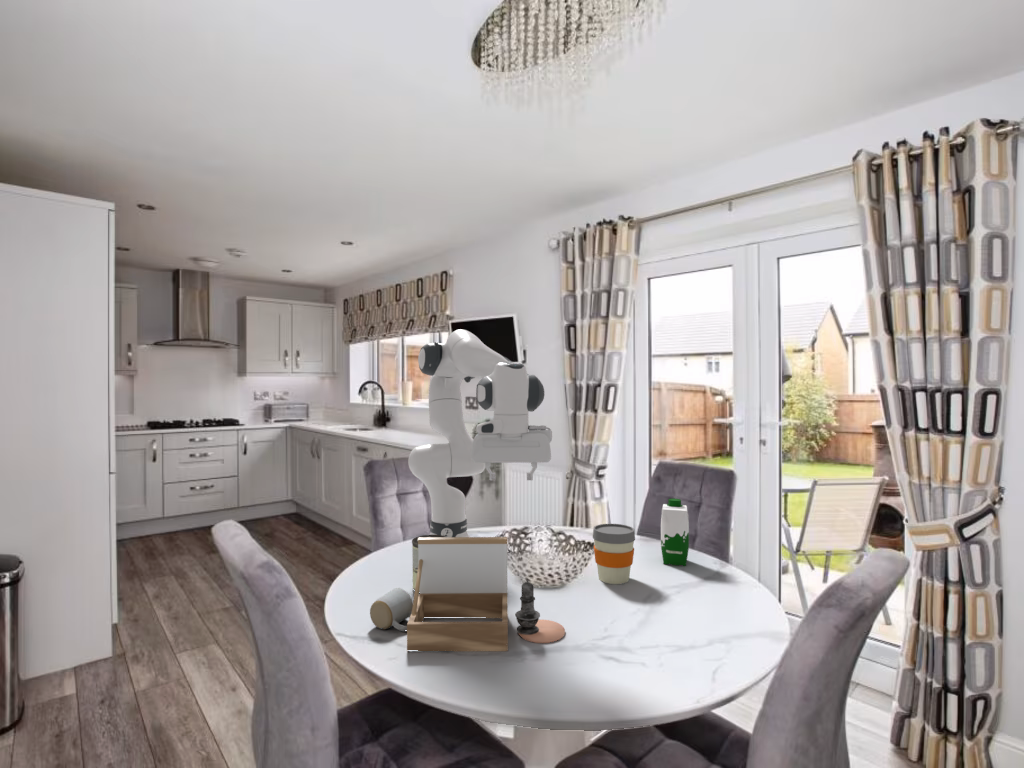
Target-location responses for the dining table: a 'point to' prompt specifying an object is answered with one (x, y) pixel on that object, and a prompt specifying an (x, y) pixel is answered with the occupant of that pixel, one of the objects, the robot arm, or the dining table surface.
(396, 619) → the ceramic mug
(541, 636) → the glossy peach disc
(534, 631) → the dark grey turned piece
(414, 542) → the coffee can
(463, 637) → the cold frame
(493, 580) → the propped lid
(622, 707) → the dining table surface
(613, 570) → the reusable coffee cup
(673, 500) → the milk carton
